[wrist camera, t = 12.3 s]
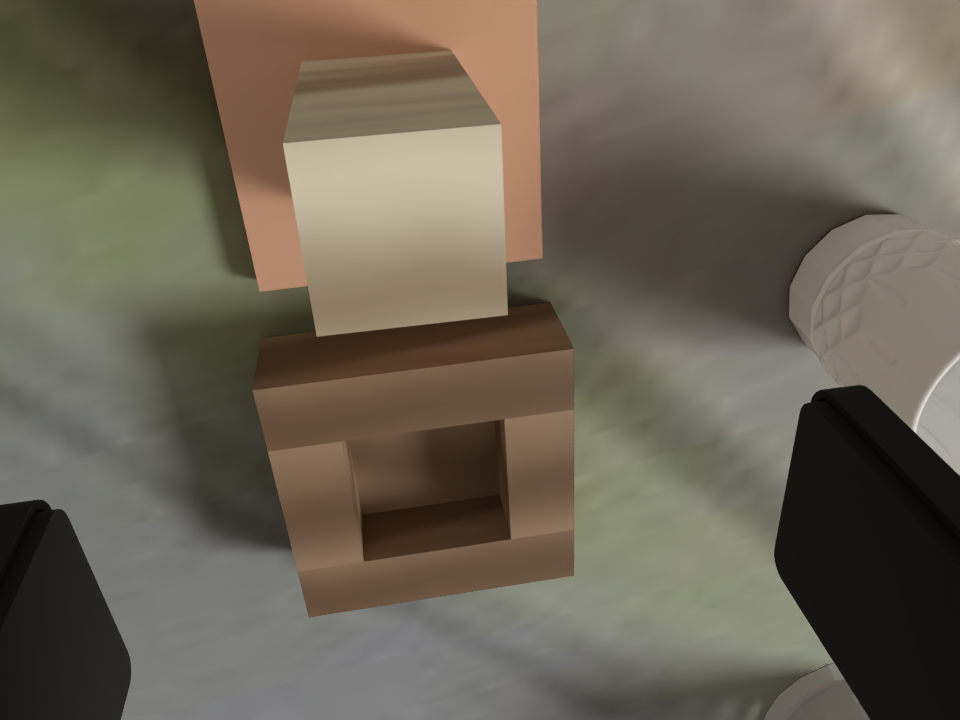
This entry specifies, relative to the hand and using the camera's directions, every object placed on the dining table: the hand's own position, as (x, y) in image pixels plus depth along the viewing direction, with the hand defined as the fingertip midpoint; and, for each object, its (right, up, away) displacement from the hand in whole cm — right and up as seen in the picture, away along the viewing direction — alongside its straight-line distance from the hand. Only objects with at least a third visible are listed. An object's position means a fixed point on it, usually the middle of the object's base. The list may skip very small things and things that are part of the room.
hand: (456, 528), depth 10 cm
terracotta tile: (-3, +11, +19) cm, 22 cm away
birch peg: (-3, +10, +18) cm, 21 cm away
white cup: (+17, +6, +25) cm, 31 cm away
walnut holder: (-2, -1, +26) cm, 26 cm away
